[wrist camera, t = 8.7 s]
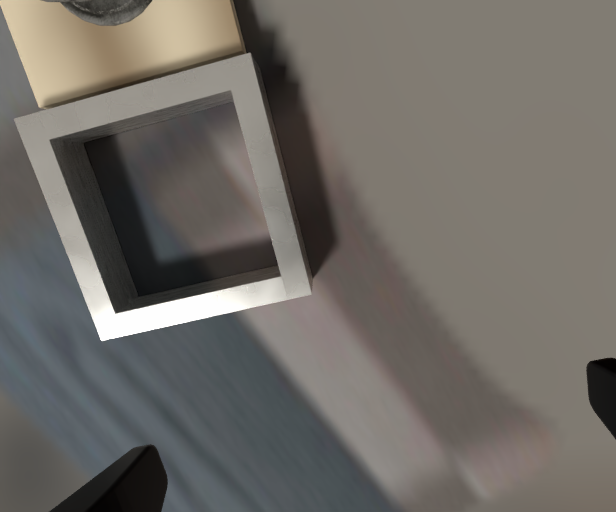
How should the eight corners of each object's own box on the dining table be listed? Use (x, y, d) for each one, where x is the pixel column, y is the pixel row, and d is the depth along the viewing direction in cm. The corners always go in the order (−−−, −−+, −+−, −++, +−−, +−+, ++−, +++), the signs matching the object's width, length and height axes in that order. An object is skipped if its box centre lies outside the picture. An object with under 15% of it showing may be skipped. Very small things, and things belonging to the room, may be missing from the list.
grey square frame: (259, 67, 18) (250, 52, 16) (312, 279, 21) (311, 294, 18) (52, 124, 19) (13, 118, 17) (126, 321, 22) (101, 340, 19)
